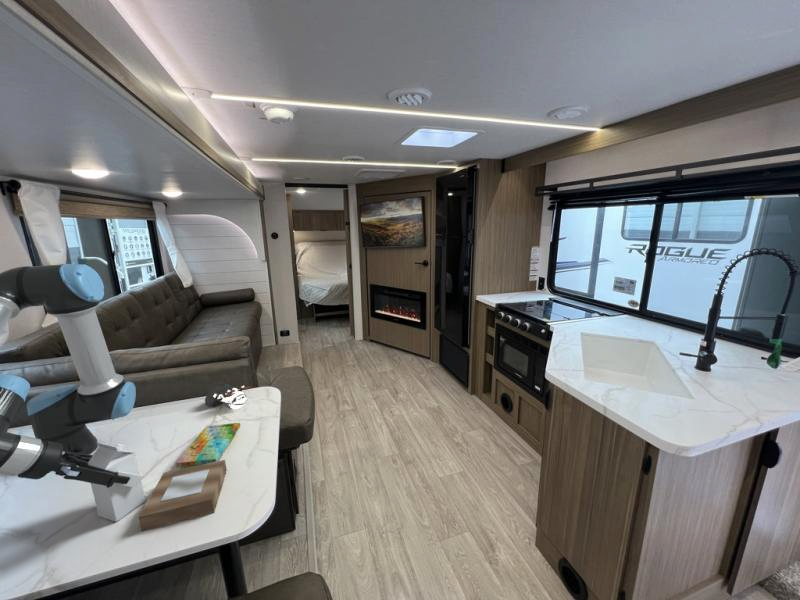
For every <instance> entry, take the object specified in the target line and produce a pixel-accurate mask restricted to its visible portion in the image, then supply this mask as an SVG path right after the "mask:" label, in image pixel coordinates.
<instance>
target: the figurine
mask: <svg viewBox="0 0 800 600" xmlns="http://www.w3.org/2000/svg"><path fill="white" fill-rule="evenodd" d="M251 388H253V386H250V385H248V386H247V385H242V386H241V387H239V386H238V387H237V388H236V387H233V386H231V385H230V384H228V383H226V384H224V385H221V386H216V387H214V388H212V389H211V390H209V392H208V393H207V394H206V396H205V398H204V403H205V404H204V405H205V406H206V407H209V408H213V407H217V406H219V405H220V404H225V405H226V408H228V409H233V410H238V409H241V408H242V407H243V406H244V405H245V404H246V403H247V401H248V398H247V395H246V394H245V393H244V392H243V390H245V391H246V390H249V389H251Z"/></svg>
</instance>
